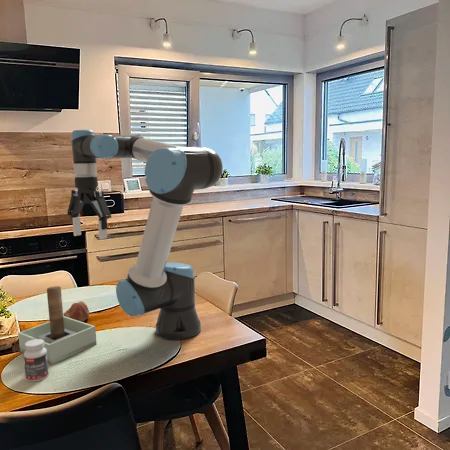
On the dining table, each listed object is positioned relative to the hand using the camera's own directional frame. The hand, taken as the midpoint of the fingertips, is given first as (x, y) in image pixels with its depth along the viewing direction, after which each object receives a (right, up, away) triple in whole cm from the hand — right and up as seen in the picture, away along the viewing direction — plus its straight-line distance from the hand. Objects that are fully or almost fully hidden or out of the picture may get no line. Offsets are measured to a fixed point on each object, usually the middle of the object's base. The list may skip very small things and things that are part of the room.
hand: (90, 237), depth 150 cm
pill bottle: (-3, -37, -35) cm, 51 cm away
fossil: (-6, -31, +4) cm, 32 cm away
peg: (-4, -33, -17) cm, 37 cm away
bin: (-4, -34, -17) cm, 38 cm away
